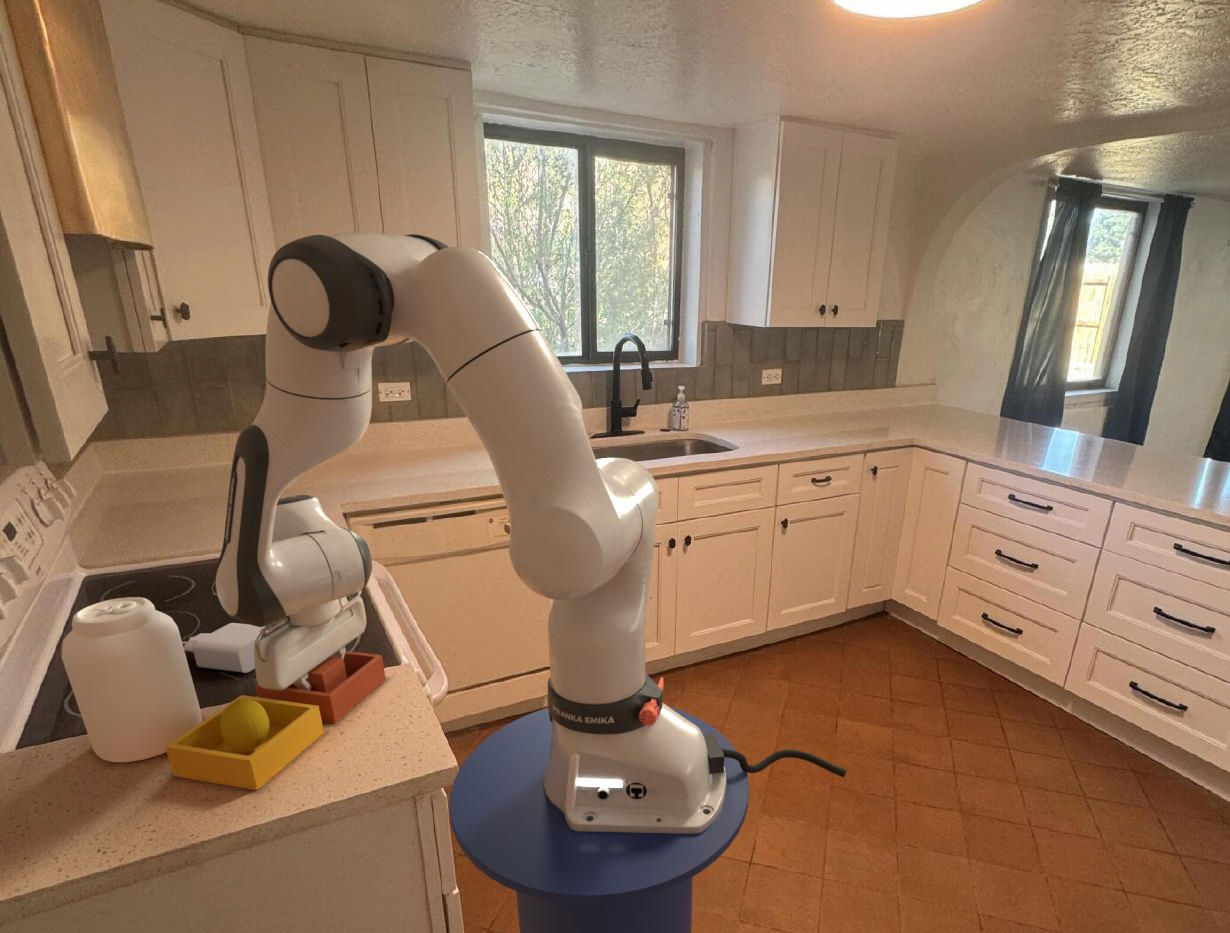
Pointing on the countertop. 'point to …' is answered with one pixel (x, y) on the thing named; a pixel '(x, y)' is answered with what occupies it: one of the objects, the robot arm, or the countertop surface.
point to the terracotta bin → (361, 681)
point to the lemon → (244, 725)
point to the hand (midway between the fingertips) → (322, 684)
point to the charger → (225, 648)
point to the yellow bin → (219, 763)
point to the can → (130, 678)
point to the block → (327, 675)
